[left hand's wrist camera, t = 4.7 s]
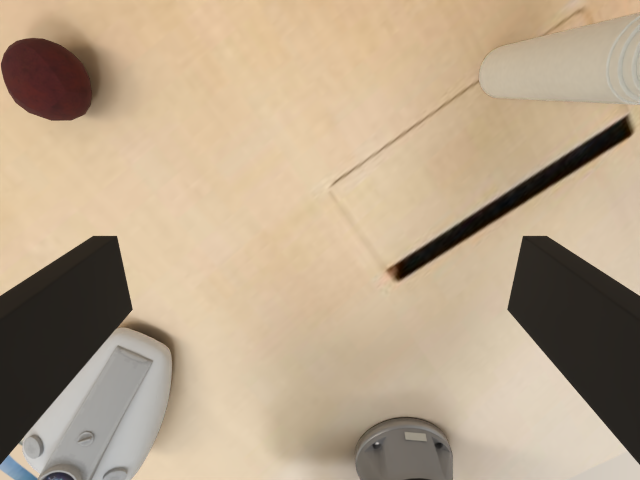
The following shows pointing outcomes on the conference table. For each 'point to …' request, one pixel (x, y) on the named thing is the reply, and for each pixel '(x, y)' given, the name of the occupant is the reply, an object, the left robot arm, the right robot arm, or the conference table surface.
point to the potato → (46, 79)
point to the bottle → (570, 65)
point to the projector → (105, 413)
